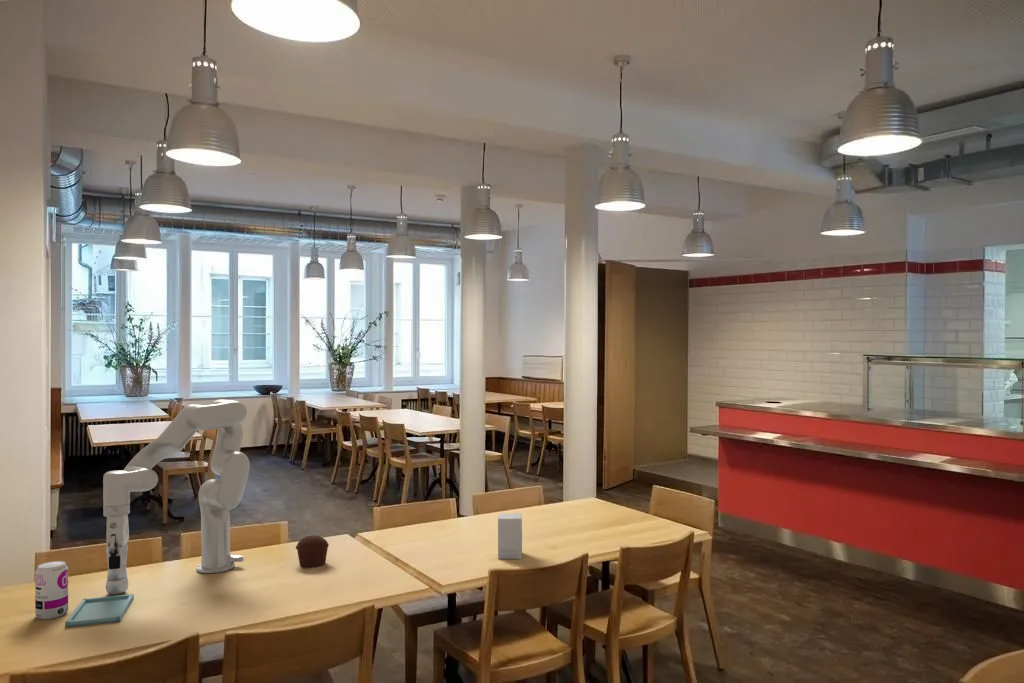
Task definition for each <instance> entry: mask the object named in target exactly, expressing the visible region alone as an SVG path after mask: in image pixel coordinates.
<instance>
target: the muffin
mask: <svg viewBox="0 0 1024 683" xmlns="http://www.w3.org/2000/svg"><path fill="white" fill-rule="evenodd" d="M329 546H330V544H329V543H328V541H327V540H326V539H325V538H324V537H322V536H320V535H307V536H304V537H303V538H301V539H300V540H299V541H298V542H297V544H296V546H295V549H296V550H297V555H298V556H297V558H298V562H299V563H298V564H299V566H300V567H301V568H306V569H312V568H313V569H314V568H315V569H316V568H319V567H323V566H324V565H325V564H326V562H327V554H328V548H329Z"/></svg>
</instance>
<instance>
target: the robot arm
mask: <svg viewBox="0 0 1024 683" xmlns="http://www.w3.org/2000/svg"><path fill="white" fill-rule="evenodd" d="M247 414H248V410H247V407H246V405H245V404H244V403H243V402H241V401H238V400H233V399H221V398H220V399H215V400H213V401H212V402H211V403H210V404H207V405H203V404H196V403H195V404H188V405H185V406H184V407H183V408H182V409H181V410H180V411H179V413H178V414H176V416H175V417H174V418H173V419H172V420H171V422H170V423H169V424H168V425H167V427H166V428H165V429H164V430H163V432H162V433H160V435H159V436H158V437H156V438H155V439H153V440H152V441H151V442H150V443H149V444H147V445H146V446H144V447H143V448H142V449H140V450H139V452H137V453H136V454H135V455H134V456H133V458H131V459H130V461H129V462H128V463H127V465H126V466H125V467H124V469H123V470H122V469H121V470H109V471H106V472H105V473H104V474H103V476H102V477H103V478H102V479H103V480H102V485H103V488H102V489H103V490H102V491H103V492H102V493H103V495H102V500H103V503H102V504H103V505H102V509H103V510H102V511H103V517H105V518H106V536H105V537H106V547H108V548H109V569H119V568H120V556H119V551H120V546H121V547H123V546H124V545H125V544H126V543H127V544H128V542H129V540H130V530H129V528H130V527H129V526H130V525H129V516H128V515H129V514H130V513H131V493H132V492H133V493H134V492H135V493H137V492H140V493H141V492H147V491H151V490H152V489H154V488H155V487H156V486H157V484H158V482H159V476H158V474H157V473H156V471H155V470H153V468H154V467H155V466H156V465H157V464H158V463H160V462H161V461H163V460H164V459H167V458H169V457H172V456H175V455H176V454H177V453H180V452H182V450H183V449H184V448H185V446H186V445H187V444H188V443H189V441H190V440H191V439H192V438H193V437H194V435H195V434H196V433H197V432H198V431H209V430H215V429H216V430H217V438H216V442H215V446H214V449H213V452H212V456H211V459H210V470H211V471H212V473H214V475H217V476H221V477H220V479H219V478H211V479H208V480H206V481H205V482H203V483H202V484H201V485H200V487H199V490H198V504H199V510H200V527H201V528H200V529H201V530H200V531H201V532H200V533H201V534H200V535H201V536H200V538H201V542H200V544H201V545H200V546H201V548H200V549H201V552H200V553H201V559H200V560H201V563H199V564H198V565H197V566H196V571H197V572H198V573H202V574H218V573H223V572H227V571H230V570H232V569H234V568H235V566H236V563H241V562H244V555H240V554H238V555H234V554H232V553H233V552H232V551H231V515H230V514H231V513H230V510H232V509H233V510H234V508H236V507H238V505H239V504H240V502H241V501H242V499H243V496H244V493H245V489H246V485H247V481H248V479H249V478H248V477H249V474H250V470H251V469H250V468H251V464H250V460H249V458H248V456H247V455H246V453H243V452H242V451H241V446H242V442H243V437H244V436H243V434H244V433H243V427H242V422H244V420H245V419H246V417H247ZM109 543H110V544H109ZM117 544H118V546H115V545H117ZM109 546H110V547H109ZM115 548H117V550H116V549H115Z"/></svg>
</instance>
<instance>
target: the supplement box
mask: <svg viewBox="0 0 1024 683" xmlns="http://www.w3.org/2000/svg"><path fill="white" fill-rule="evenodd" d="M522 516H523V515H522V513H520V512H519V513H506V512H505V513H502V512H501V513H498V518H497V559H498V560H499V559H501V560H506V559H509V560H510V559H511V560H514V559H515V560H521V559H522V558H523V557H522V556H523V555H522V554H523V519H522V518H523V517H522Z"/></svg>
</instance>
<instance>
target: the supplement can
mask: <svg viewBox="0 0 1024 683" xmlns="http://www.w3.org/2000/svg"><path fill="white" fill-rule="evenodd" d="M34 586H35V587H34V589H35V590H34V594H35V595H34V598H35V599H34V601H35V602H34V603H35V607H34V608H35V609H34V611H35V612H34V613H35V617H36V618H38V619H39V620H52V619H56V618H61V617H63V616H64V615H66V613H67V612H68V611H69V566H68V565H67V564H66V561H64V560H54V561H47V562H43V563H40V564H38V565H37V568H36V569H35V571H34Z"/></svg>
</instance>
